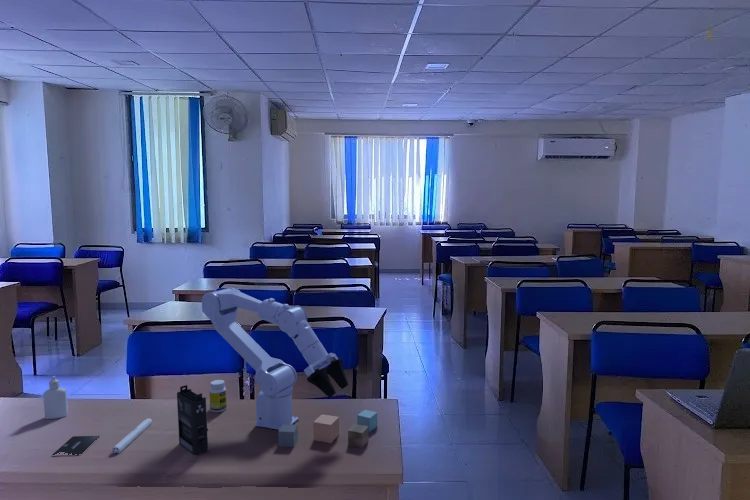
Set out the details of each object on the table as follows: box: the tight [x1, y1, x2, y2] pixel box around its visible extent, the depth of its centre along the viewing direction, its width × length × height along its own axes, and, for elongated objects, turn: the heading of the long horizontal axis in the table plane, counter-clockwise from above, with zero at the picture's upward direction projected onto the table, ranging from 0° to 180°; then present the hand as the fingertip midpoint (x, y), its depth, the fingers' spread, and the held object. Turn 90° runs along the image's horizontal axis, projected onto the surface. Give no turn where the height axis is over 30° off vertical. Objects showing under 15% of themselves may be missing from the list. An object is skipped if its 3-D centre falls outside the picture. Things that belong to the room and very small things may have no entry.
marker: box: [111, 417, 152, 454], centre depth 136 cm, size 18×2×2 cm, turn 177°
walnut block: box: [347, 423, 369, 449], centre depth 132 cm, size 4×4×4 cm
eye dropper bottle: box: [42, 375, 69, 420], centre depth 149 cm, size 4×6×12 cm
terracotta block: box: [313, 413, 340, 444], centre depth 135 cm, size 5×5×5 cm
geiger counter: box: [176, 384, 209, 457], centre depth 130 cm, size 10×4×15 cm, turn 45°
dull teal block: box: [356, 409, 378, 433], centre depth 141 cm, size 4×4×4 cm
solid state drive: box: [51, 435, 100, 456], centre depth 132 cm, size 7×10×1 cm
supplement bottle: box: [209, 379, 227, 413], centre depth 153 cm, size 5×5×8 cm
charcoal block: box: [277, 424, 299, 448], centre depth 133 cm, size 4×4×4 cm
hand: (339, 391), depth 134 cm, fingers open, 7 cm apart
